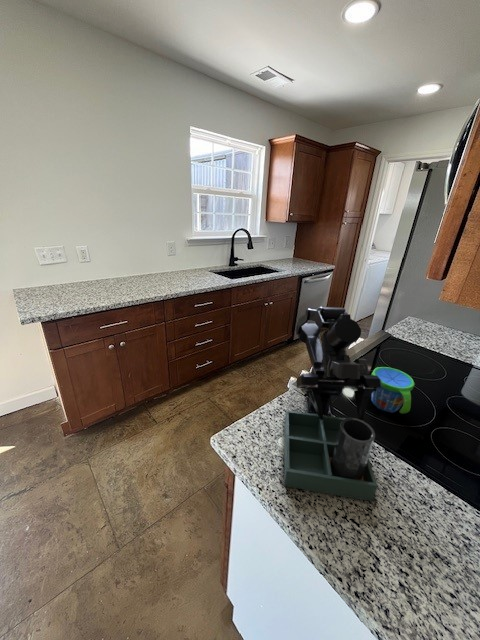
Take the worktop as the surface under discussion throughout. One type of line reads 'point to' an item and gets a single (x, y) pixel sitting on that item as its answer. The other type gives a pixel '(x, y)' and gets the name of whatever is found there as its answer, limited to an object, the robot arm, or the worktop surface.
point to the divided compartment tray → (319, 457)
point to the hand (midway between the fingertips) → (341, 420)
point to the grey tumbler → (352, 449)
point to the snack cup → (393, 390)
